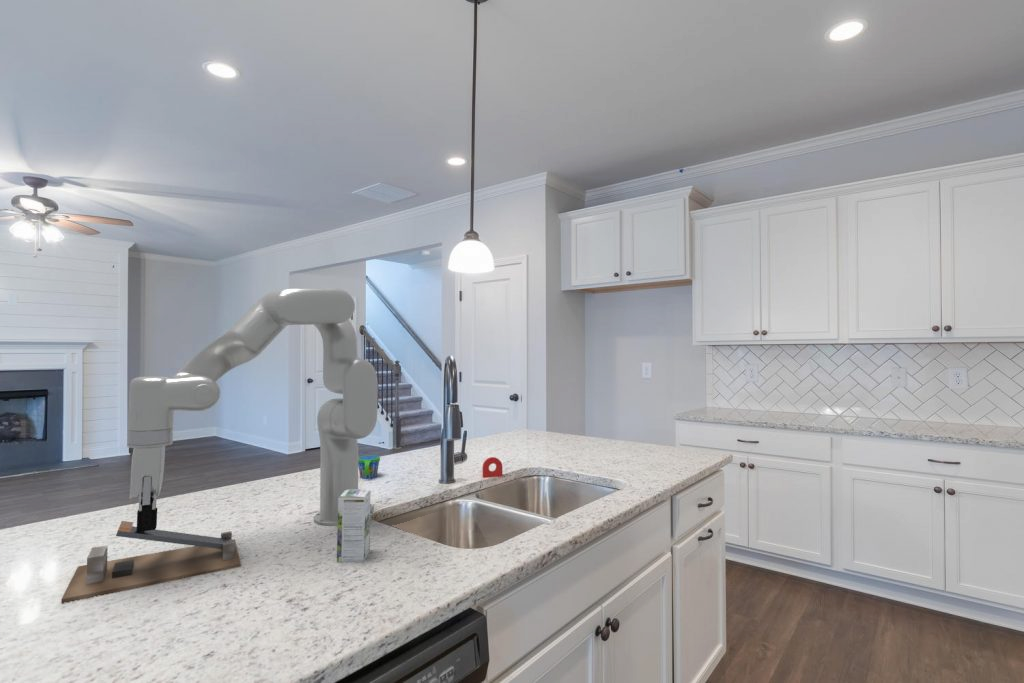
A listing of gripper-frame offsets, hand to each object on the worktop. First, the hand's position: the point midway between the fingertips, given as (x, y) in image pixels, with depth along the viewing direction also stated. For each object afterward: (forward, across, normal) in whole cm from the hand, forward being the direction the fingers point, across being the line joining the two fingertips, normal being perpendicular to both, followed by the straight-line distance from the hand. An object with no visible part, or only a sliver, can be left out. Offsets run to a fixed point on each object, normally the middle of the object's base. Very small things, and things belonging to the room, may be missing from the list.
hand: (146, 529), depth 103 cm
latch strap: (+6, 0, +14) cm, 15 cm away
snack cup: (+7, -51, +60) cm, 79 cm away
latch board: (+9, 0, +4) cm, 10 cm away
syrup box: (+8, +15, +37) cm, 41 cm away
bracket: (+7, -25, +98) cm, 101 cm away
